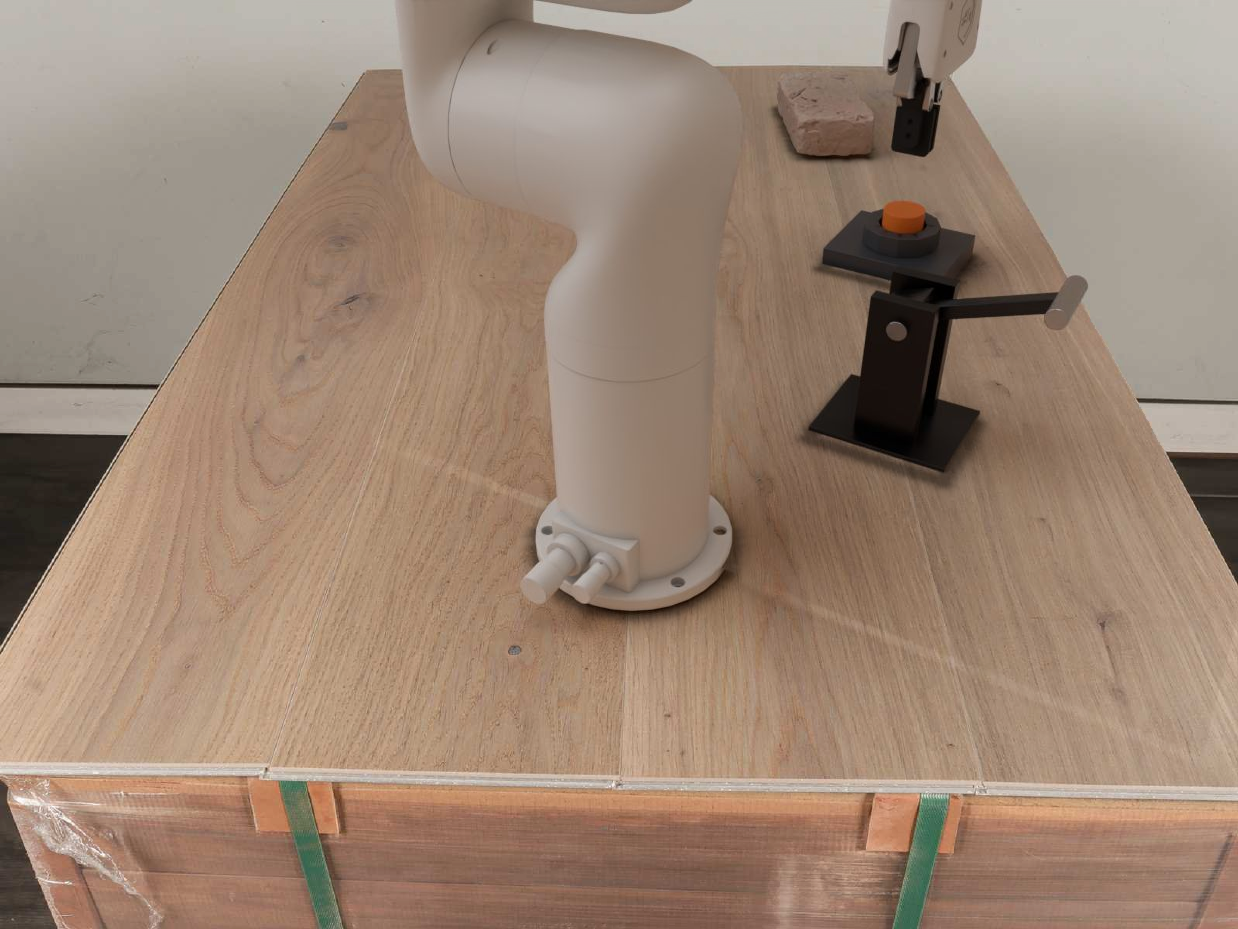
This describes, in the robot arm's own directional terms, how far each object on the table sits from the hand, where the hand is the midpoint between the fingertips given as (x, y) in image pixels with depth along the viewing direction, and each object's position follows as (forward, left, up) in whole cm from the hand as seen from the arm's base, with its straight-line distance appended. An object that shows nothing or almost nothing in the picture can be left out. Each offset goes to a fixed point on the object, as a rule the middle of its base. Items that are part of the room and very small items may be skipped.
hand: (911, 150), depth 95 cm
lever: (-25, -14, 0) cm, 28 cm away
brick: (+26, +19, -11) cm, 34 cm away
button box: (0, 0, -11) cm, 11 cm away
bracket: (-25, -9, -11) cm, 28 cm away
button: (0, 0, -7) cm, 7 cm away
